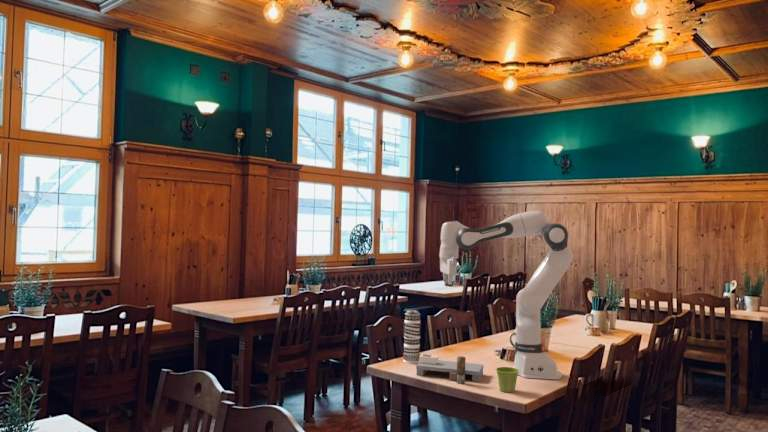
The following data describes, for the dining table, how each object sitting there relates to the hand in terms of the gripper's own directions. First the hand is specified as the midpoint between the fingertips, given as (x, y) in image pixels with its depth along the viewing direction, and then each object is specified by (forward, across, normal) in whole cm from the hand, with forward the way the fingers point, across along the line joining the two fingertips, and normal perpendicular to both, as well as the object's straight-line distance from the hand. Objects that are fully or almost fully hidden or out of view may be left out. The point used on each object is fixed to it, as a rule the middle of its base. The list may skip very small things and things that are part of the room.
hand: (447, 283), depth 273 cm
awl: (+40, -27, -2) cm, 48 cm away
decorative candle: (+41, +13, +13) cm, 45 cm away
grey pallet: (+40, -14, 0) cm, 42 cm away
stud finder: (+36, -10, +9) cm, 38 cm away
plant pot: (+40, -39, -18) cm, 58 cm away
